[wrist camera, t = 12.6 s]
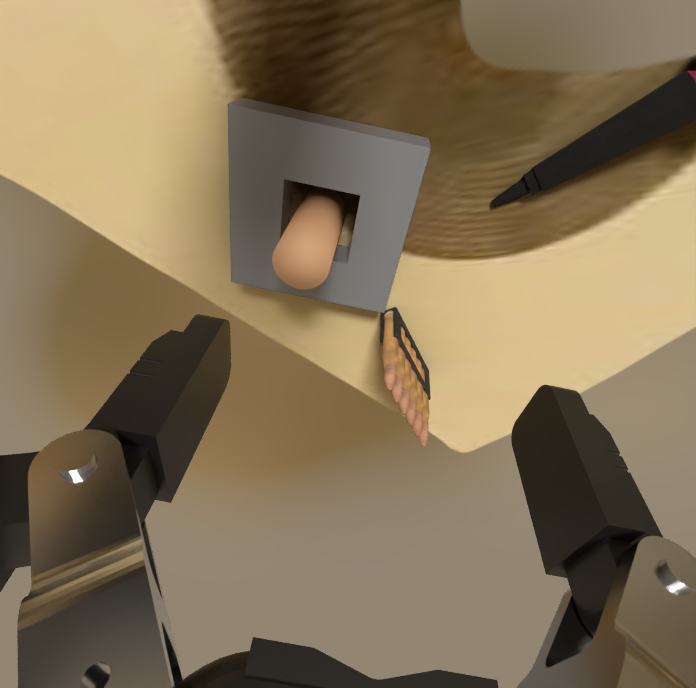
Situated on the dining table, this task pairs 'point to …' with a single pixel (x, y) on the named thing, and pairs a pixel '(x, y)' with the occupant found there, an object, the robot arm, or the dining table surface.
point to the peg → (310, 240)
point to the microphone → (614, 136)
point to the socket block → (328, 172)
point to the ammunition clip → (405, 372)
